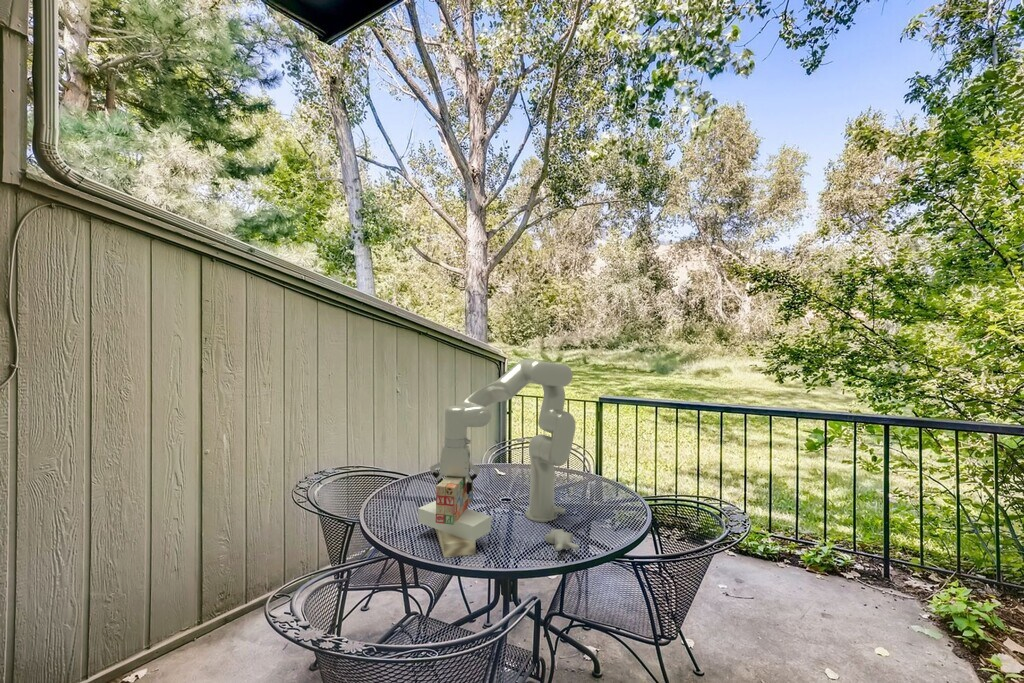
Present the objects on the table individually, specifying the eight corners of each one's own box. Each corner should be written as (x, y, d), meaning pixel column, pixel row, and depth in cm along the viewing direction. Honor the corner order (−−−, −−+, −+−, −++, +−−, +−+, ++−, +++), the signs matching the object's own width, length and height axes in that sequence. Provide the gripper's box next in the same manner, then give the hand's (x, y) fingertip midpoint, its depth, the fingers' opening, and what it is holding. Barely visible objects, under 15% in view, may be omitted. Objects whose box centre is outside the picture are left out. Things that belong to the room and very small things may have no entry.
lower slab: (461, 524, 167) (461, 511, 167) (475, 556, 144) (475, 540, 144) (434, 527, 164) (434, 513, 164) (444, 560, 141) (444, 544, 141)
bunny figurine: (568, 525, 159) (582, 539, 144) (568, 540, 158) (582, 556, 144) (542, 526, 157) (553, 541, 143) (542, 541, 157) (553, 558, 142)
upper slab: (437, 513, 165) (438, 499, 164) (490, 530, 152) (491, 516, 151) (417, 522, 156) (418, 508, 156) (472, 542, 143) (473, 526, 143)
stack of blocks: (456, 499, 166) (457, 465, 165) (473, 500, 164) (473, 467, 164) (435, 523, 145) (436, 485, 144) (453, 525, 143) (454, 486, 143)
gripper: (482, 440, 156) (481, 489, 157) (433, 438, 158) (432, 486, 158) (478, 446, 149) (477, 497, 149) (427, 444, 150) (426, 494, 151)
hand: (454, 492), depth 154 cm, fingers open, 9 cm apart
